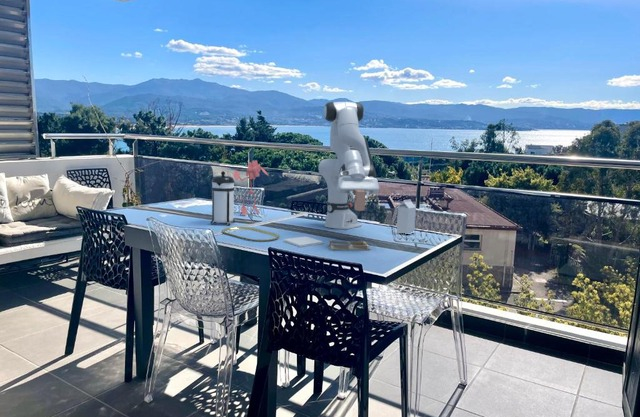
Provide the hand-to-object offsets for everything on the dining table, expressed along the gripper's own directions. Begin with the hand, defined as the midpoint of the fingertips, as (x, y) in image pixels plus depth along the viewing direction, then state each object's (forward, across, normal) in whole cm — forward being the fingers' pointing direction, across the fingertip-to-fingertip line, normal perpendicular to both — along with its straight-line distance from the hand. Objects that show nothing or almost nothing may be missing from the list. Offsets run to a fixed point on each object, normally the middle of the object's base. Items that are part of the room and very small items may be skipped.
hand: (360, 199), depth 231 cm
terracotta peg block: (+3, 0, -4) cm, 5 cm away
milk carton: (-7, -35, -41) cm, 54 cm away
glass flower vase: (-46, +47, -79) cm, 102 cm away
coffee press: (-27, +65, -60) cm, 92 cm away
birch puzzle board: (+16, +4, -17) cm, 24 cm away
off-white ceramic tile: (+8, +25, -25) cm, 36 cm away
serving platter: (-4, +50, -38) cm, 63 cm away
